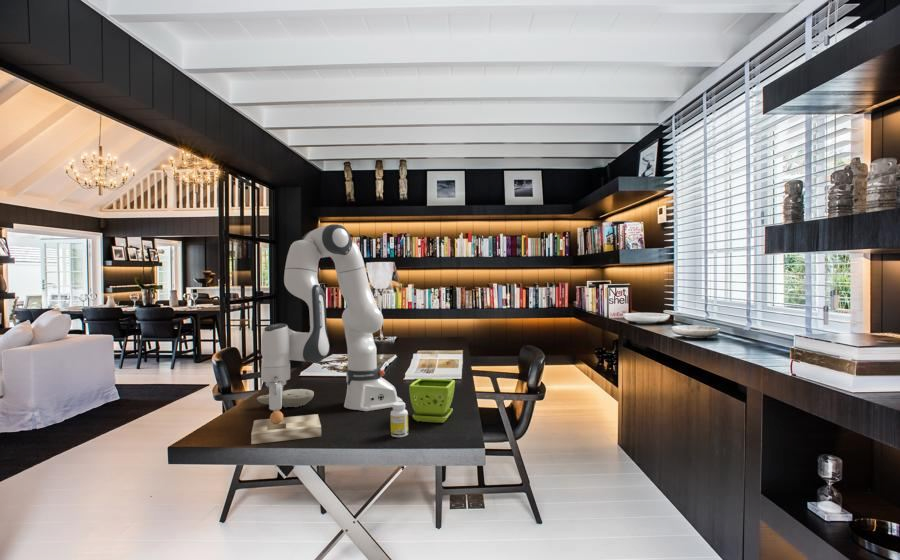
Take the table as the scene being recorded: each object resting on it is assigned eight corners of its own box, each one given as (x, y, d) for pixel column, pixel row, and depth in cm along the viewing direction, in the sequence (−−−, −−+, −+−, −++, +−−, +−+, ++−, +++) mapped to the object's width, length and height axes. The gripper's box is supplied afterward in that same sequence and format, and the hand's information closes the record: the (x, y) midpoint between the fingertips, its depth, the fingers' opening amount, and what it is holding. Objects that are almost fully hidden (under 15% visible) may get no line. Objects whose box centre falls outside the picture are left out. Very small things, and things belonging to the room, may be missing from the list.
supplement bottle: (399, 431, 152) (399, 400, 152) (411, 434, 148) (411, 402, 148) (387, 435, 147) (386, 403, 147) (399, 438, 144) (399, 406, 144)
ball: (283, 408, 153) (283, 413, 149) (283, 419, 154) (283, 425, 150) (270, 409, 152) (269, 414, 148) (270, 421, 152) (269, 426, 149)
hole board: (317, 422, 161) (317, 414, 161) (321, 436, 147) (321, 426, 147) (254, 429, 155) (254, 420, 155) (251, 444, 141) (251, 434, 141)
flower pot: (448, 425, 157) (448, 387, 157) (407, 423, 160) (407, 385, 160) (456, 414, 171) (456, 378, 171) (418, 412, 173) (418, 377, 173)
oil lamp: (256, 414, 173) (256, 400, 173) (256, 404, 187) (256, 392, 187) (315, 407, 181) (315, 394, 181) (312, 399, 195) (311, 387, 195)
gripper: (286, 379, 146) (286, 424, 145) (286, 368, 165) (286, 408, 165) (264, 381, 143) (264, 427, 143) (266, 369, 163) (266, 410, 163)
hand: (276, 416), depth 154 cm, fingers closed
